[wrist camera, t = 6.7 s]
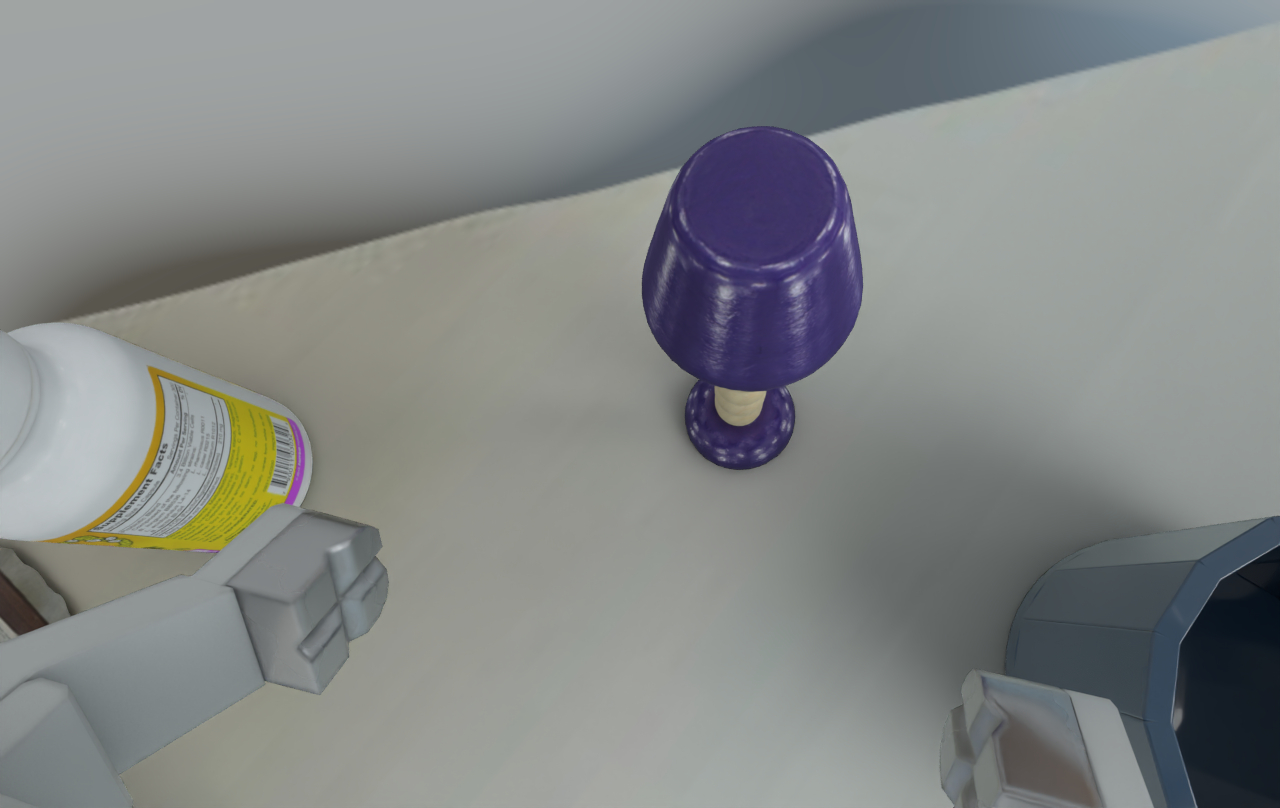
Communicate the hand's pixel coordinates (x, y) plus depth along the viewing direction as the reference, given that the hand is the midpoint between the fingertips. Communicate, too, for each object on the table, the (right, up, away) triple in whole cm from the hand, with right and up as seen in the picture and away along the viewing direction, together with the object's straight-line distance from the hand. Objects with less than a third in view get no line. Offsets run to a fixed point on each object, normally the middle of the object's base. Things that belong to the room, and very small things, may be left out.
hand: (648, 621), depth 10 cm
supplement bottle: (-17, 0, +21) cm, 27 cm away
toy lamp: (+4, +2, +18) cm, 19 cm away
